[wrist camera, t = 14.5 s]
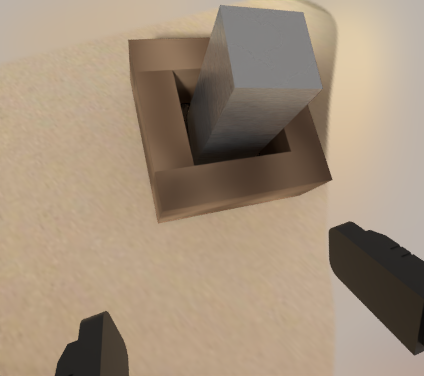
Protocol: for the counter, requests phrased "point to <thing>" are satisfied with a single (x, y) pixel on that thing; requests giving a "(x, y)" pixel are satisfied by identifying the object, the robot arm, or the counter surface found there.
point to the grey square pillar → (250, 82)
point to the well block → (180, 149)
